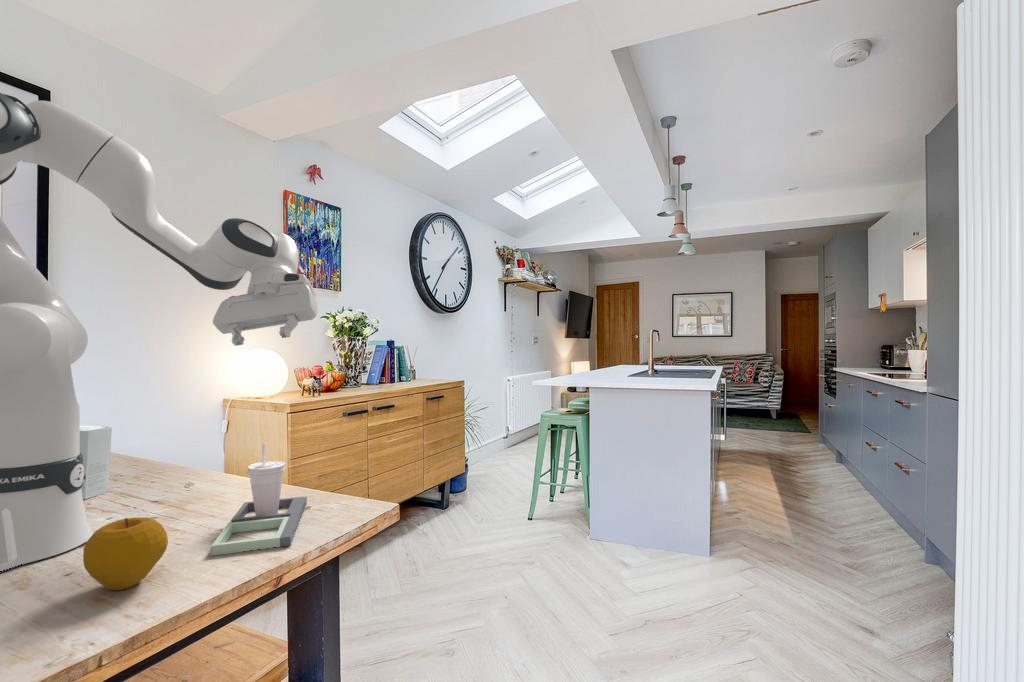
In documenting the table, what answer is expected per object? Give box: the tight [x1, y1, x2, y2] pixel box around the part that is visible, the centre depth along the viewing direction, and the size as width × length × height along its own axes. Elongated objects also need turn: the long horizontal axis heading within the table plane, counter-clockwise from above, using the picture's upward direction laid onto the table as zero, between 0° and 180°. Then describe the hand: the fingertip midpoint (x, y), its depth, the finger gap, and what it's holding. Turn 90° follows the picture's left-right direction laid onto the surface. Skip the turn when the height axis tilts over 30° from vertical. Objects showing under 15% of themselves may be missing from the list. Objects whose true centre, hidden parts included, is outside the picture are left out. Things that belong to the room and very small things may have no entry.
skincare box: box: [80, 425, 113, 501], centre depth 101 cm, size 8×6×15 cm
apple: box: [82, 517, 169, 591], centre depth 63 cm, size 9×9×9 cm
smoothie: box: [247, 441, 286, 516], centre depth 88 cm, size 6×6×14 cm
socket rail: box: [210, 496, 308, 557], centre depth 83 cm, size 11×21×2 cm, turn 17°
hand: (260, 339), depth 93 cm, fingers open, 8 cm apart
